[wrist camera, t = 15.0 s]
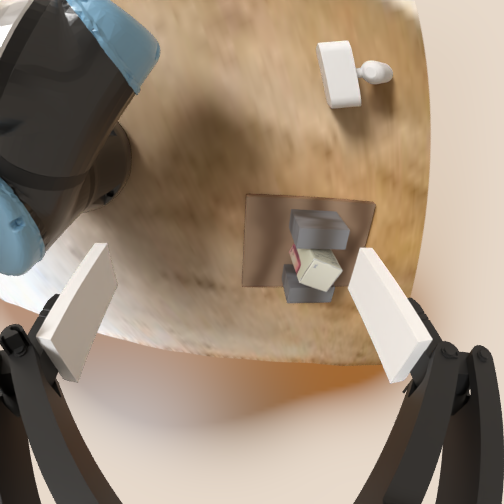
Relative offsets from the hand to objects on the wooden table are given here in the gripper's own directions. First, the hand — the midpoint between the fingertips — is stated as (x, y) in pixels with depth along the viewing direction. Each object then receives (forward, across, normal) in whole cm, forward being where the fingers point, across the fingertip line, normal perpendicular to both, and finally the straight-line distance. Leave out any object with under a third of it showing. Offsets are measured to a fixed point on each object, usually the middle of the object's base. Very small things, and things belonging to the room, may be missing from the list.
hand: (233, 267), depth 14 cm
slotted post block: (+27, +12, -14) cm, 32 cm away
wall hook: (+27, +15, +13) cm, 34 cm away
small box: (+26, +12, -14) cm, 32 cm away
